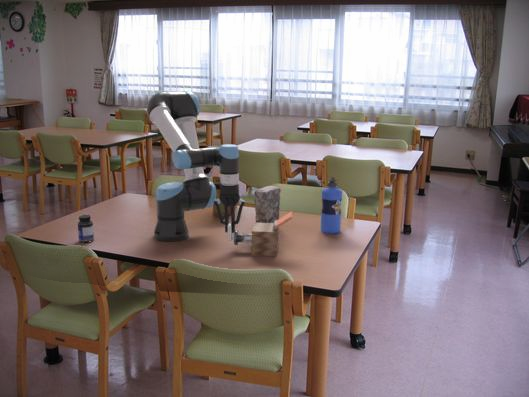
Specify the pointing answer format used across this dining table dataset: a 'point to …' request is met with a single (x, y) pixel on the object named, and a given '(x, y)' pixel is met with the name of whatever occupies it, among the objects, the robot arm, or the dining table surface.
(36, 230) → the dining table surface
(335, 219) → the water bottle
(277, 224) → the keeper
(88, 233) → the pill bottle
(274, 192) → the stone block
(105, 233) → the dining table surface
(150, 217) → the dining table surface
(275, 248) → the block
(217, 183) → the box
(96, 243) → the dining table surface
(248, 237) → the pin
